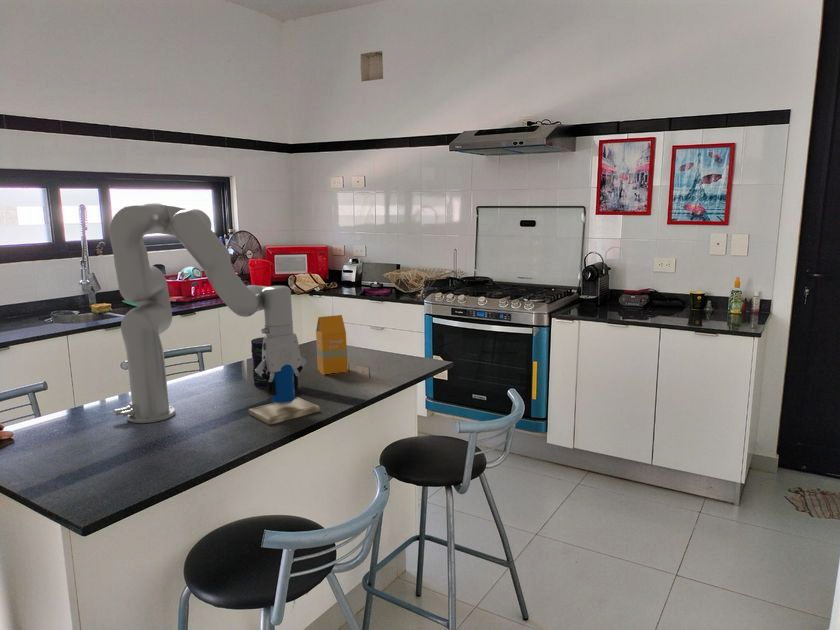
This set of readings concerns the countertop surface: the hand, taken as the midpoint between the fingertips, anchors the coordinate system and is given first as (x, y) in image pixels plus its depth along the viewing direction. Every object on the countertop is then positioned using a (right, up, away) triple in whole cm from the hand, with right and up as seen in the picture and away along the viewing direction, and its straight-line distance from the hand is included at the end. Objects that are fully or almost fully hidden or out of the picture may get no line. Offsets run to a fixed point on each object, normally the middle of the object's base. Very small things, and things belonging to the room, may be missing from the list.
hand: (282, 391), depth 178 cm
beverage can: (0, -3, +1) cm, 3 cm away
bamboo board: (0, -6, +1) cm, 6 cm away
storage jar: (-11, -1, +31) cm, 33 cm away
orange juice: (+8, +2, +45) cm, 45 cm away
